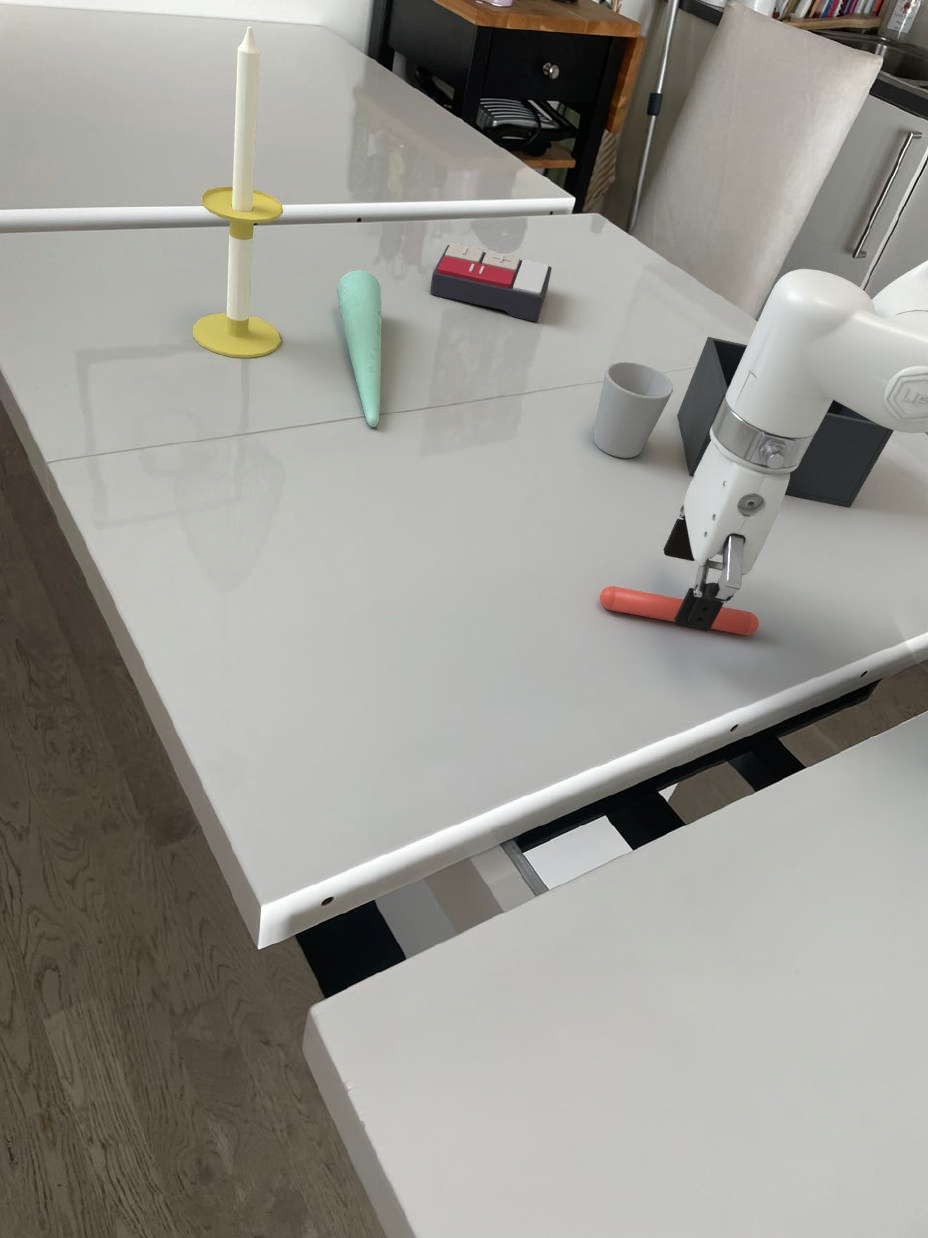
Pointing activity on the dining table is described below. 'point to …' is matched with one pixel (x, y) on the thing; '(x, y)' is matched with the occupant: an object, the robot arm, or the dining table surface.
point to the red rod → (673, 609)
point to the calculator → (492, 280)
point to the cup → (629, 407)
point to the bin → (829, 460)
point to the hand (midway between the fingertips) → (684, 590)
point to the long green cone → (363, 335)
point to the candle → (241, 226)
